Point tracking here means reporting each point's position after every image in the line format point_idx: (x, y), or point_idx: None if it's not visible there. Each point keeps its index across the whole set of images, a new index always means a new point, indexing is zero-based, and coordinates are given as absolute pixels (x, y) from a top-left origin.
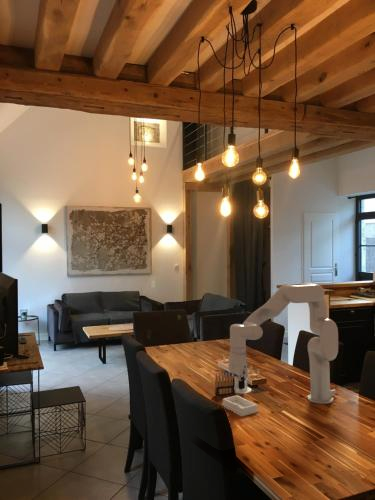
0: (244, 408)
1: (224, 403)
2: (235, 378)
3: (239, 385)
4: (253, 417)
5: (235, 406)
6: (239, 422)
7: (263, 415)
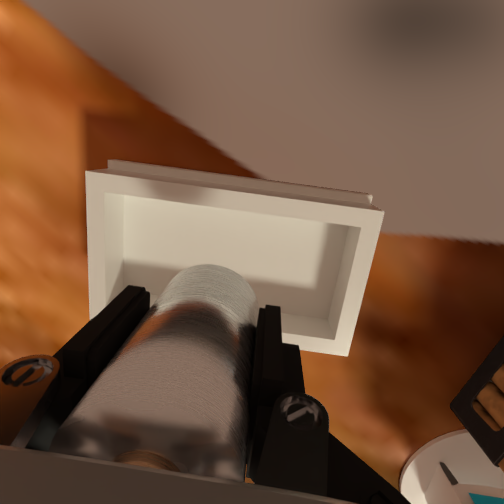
0: (87, 195)
1: (349, 202)
2: (154, 372)
3: (104, 311)
4: (59, 212)
5: (185, 182)
6: (34, 65)
7: (53, 283)
